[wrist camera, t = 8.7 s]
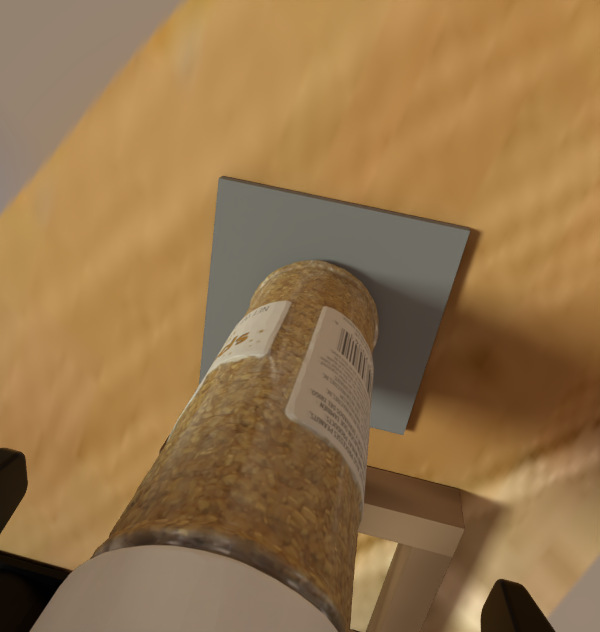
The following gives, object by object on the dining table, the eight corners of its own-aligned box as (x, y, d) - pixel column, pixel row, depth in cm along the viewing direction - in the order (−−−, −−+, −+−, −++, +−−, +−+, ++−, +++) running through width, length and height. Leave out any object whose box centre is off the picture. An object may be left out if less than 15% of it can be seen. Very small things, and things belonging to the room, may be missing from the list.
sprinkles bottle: (245, 256, 17) (-100, 668, 5) (382, 256, 17) (340, 740, 4) (257, 374, 19) (24, 871, 7) (381, 378, 18) (349, 949, 6)
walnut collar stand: (165, 597, 26) (148, 635, 25) (179, 418, 21) (159, 450, 20) (388, 660, 26) (387, 704, 24) (459, 489, 20) (464, 529, 19)
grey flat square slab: (202, 379, 20) (199, 385, 20) (222, 175, 17) (218, 178, 16) (403, 428, 20) (403, 435, 19) (468, 227, 16) (470, 231, 16)
